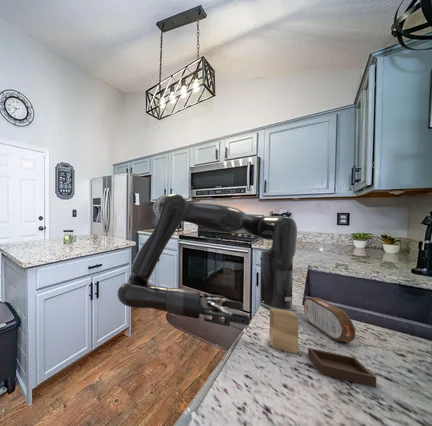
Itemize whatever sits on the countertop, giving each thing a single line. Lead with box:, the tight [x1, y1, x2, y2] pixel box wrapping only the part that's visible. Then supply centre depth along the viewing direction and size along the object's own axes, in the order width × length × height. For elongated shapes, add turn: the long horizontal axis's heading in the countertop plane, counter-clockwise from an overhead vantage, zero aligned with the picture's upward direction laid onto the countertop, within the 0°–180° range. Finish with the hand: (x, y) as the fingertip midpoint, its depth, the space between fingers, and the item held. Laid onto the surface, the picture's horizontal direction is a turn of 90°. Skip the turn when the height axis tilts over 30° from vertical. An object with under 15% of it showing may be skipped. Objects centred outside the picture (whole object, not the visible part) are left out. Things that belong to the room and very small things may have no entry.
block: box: [268, 308, 299, 354], centre depth 53 cm, size 3×5×9 cm, turn 67°
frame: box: [307, 347, 377, 388], centre depth 45 cm, size 6×8×2 cm
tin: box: [303, 297, 356, 343], centre depth 60 cm, size 15×3×8 cm, turn 168°
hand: (245, 313), depth 56 cm, fingers open, 8 cm apart
